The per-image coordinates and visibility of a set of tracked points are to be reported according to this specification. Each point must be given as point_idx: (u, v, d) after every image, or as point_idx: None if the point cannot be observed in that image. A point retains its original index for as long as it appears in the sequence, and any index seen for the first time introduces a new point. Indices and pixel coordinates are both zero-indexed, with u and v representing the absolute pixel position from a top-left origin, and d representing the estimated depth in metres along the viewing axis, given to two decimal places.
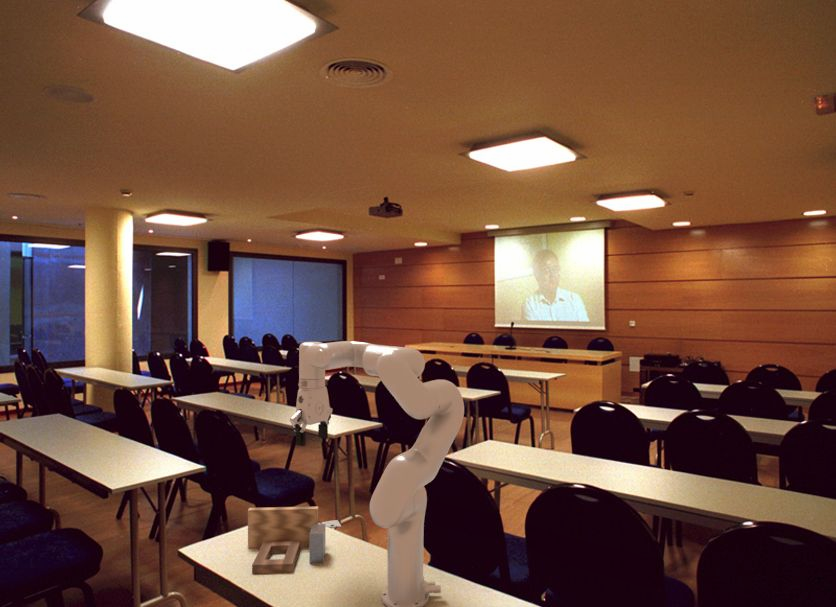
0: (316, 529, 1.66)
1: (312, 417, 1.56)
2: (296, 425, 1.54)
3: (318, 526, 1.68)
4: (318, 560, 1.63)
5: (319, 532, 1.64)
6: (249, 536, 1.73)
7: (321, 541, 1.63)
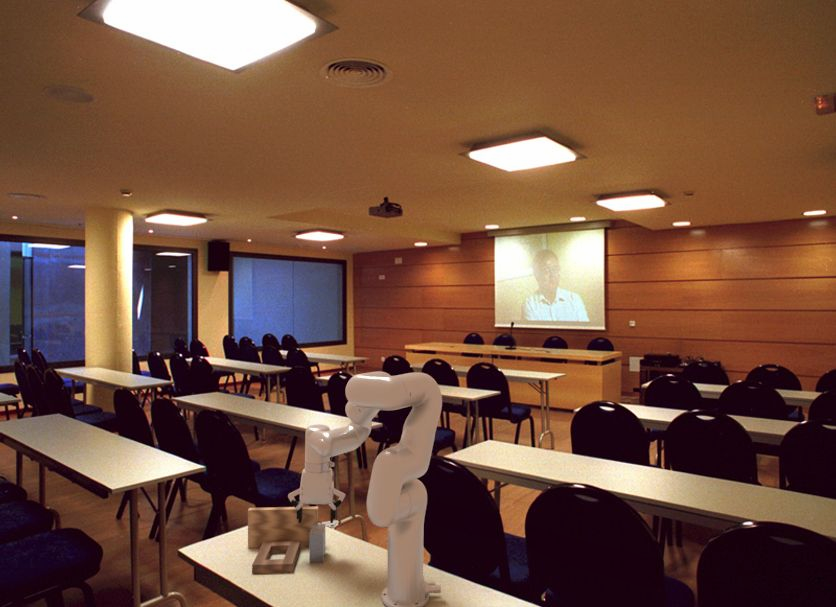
0: (316, 529, 1.66)
1: None
2: None
3: (318, 526, 1.68)
4: (318, 560, 1.63)
5: (319, 532, 1.64)
6: (249, 536, 1.73)
7: (321, 541, 1.63)
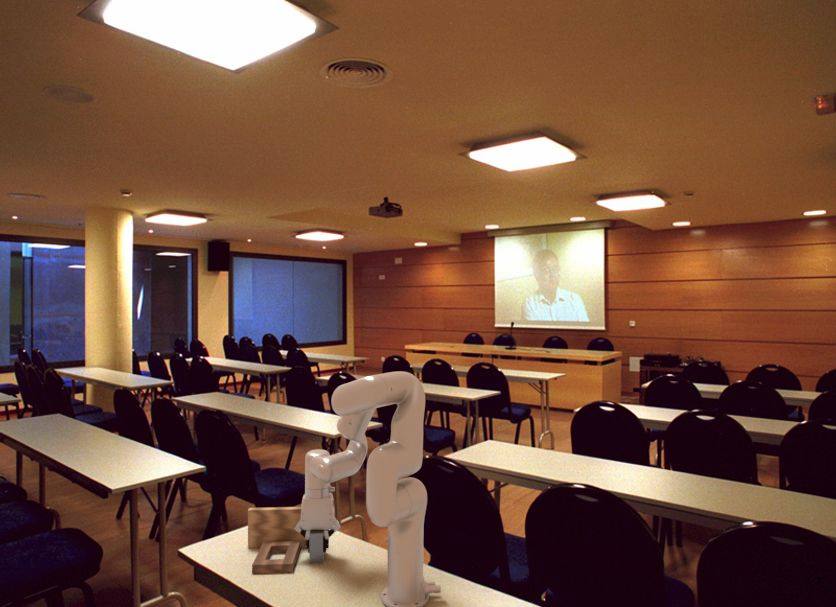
0: None
1: None
2: None
3: None
4: (318, 560, 1.63)
5: (319, 532, 1.64)
6: (249, 536, 1.73)
7: (321, 541, 1.63)
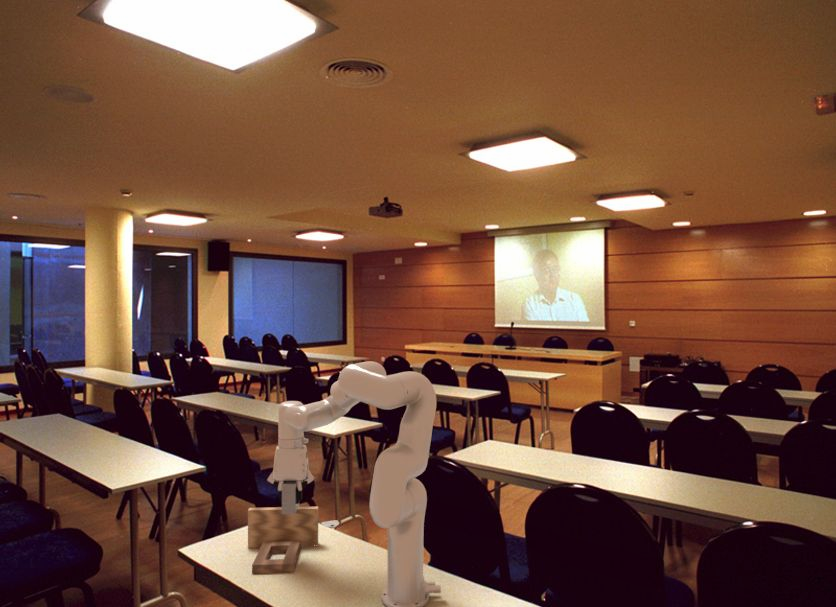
0: None
1: None
2: None
3: None
4: (290, 510, 1.62)
5: (292, 483, 1.62)
6: (249, 536, 1.73)
7: (294, 491, 1.62)
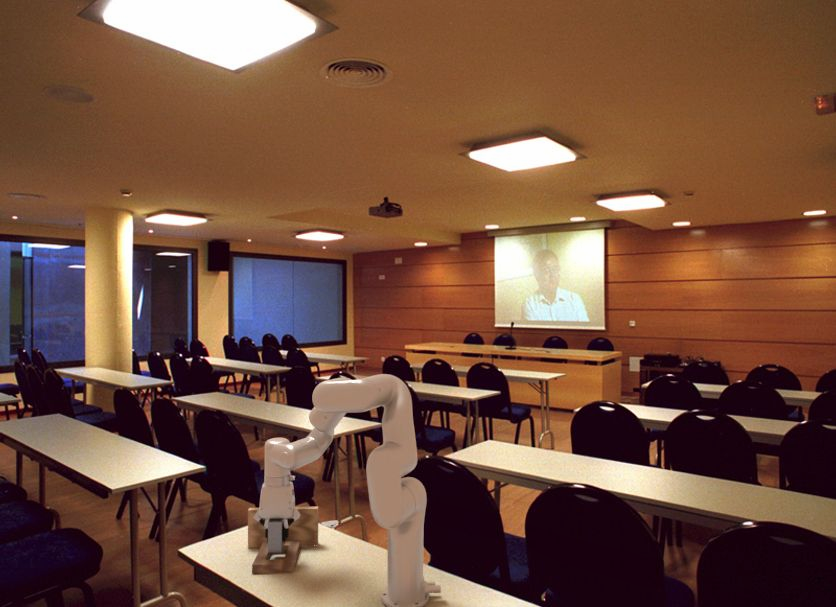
0: None
1: None
2: None
3: None
4: (277, 549, 1.61)
5: (278, 521, 1.62)
6: (249, 536, 1.73)
7: (280, 530, 1.61)
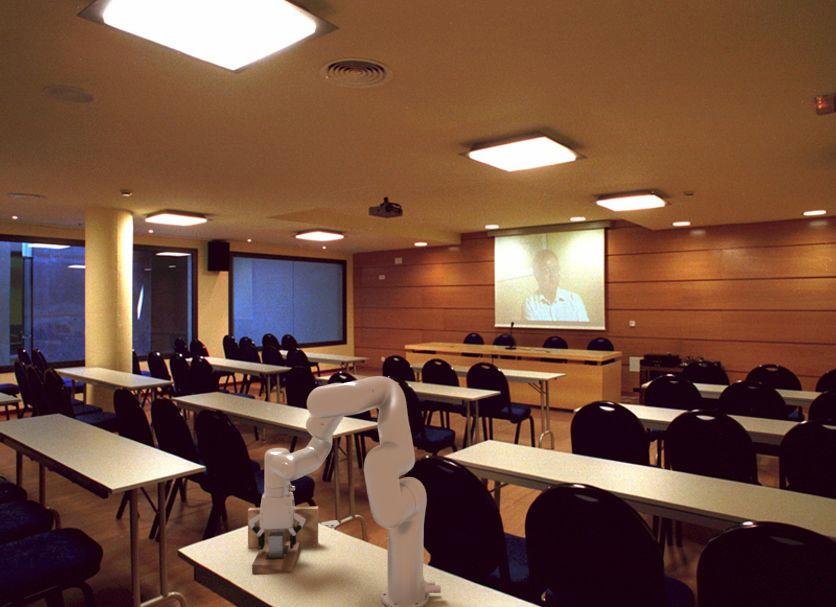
0: (275, 531, 1.64)
1: None
2: None
3: None
4: None
5: (279, 535, 1.62)
6: (249, 536, 1.73)
7: (280, 544, 1.61)
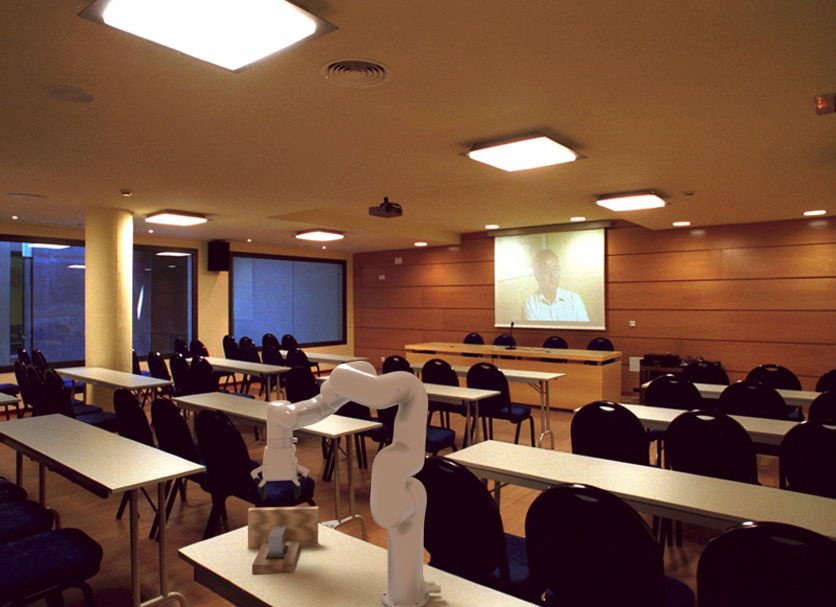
0: (275, 531, 1.64)
1: None
2: None
3: (278, 528, 1.67)
4: None
5: (279, 534, 1.62)
6: (249, 536, 1.73)
7: (280, 544, 1.61)
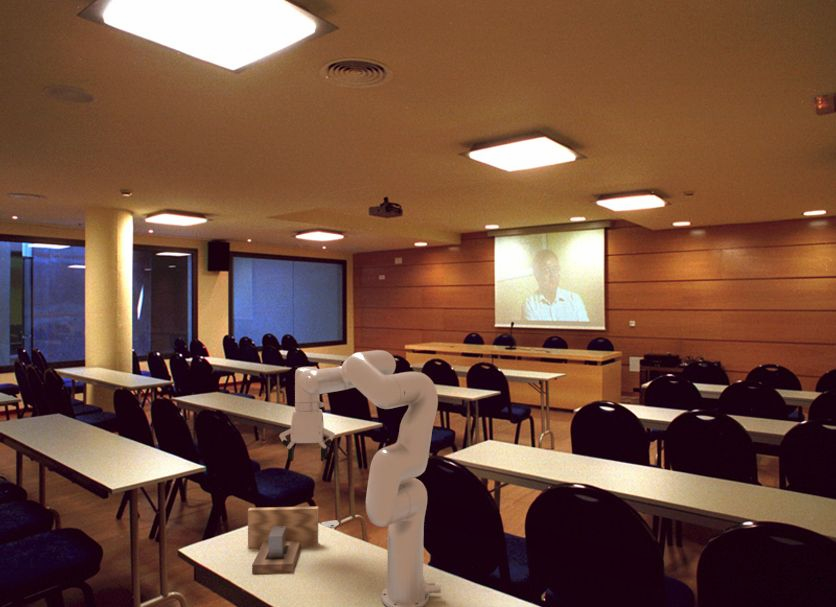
0: (275, 531, 1.64)
1: None
2: None
3: (278, 528, 1.67)
4: None
5: (279, 535, 1.62)
6: (249, 536, 1.73)
7: (280, 544, 1.61)
